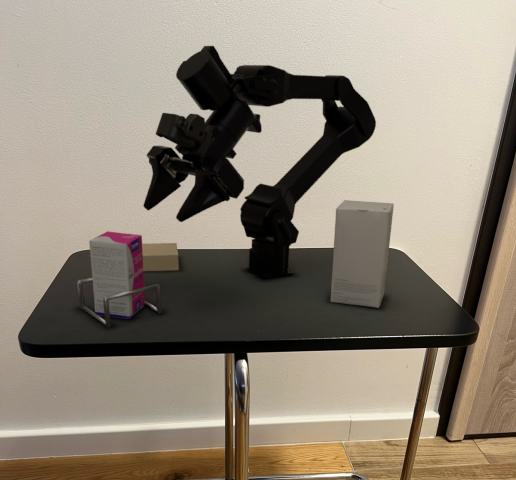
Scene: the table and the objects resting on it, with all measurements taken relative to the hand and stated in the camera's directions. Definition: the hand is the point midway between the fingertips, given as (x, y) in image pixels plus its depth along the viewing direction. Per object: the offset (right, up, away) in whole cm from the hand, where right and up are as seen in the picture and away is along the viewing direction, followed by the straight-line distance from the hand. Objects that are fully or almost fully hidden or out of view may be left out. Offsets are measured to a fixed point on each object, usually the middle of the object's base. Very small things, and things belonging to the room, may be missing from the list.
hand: (161, 214), depth 81 cm
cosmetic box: (+31, -12, +9) cm, 34 cm away
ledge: (-7, -4, +22) cm, 23 cm away
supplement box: (-6, -15, +1) cm, 16 cm away
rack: (-6, -14, +1) cm, 16 cm away
